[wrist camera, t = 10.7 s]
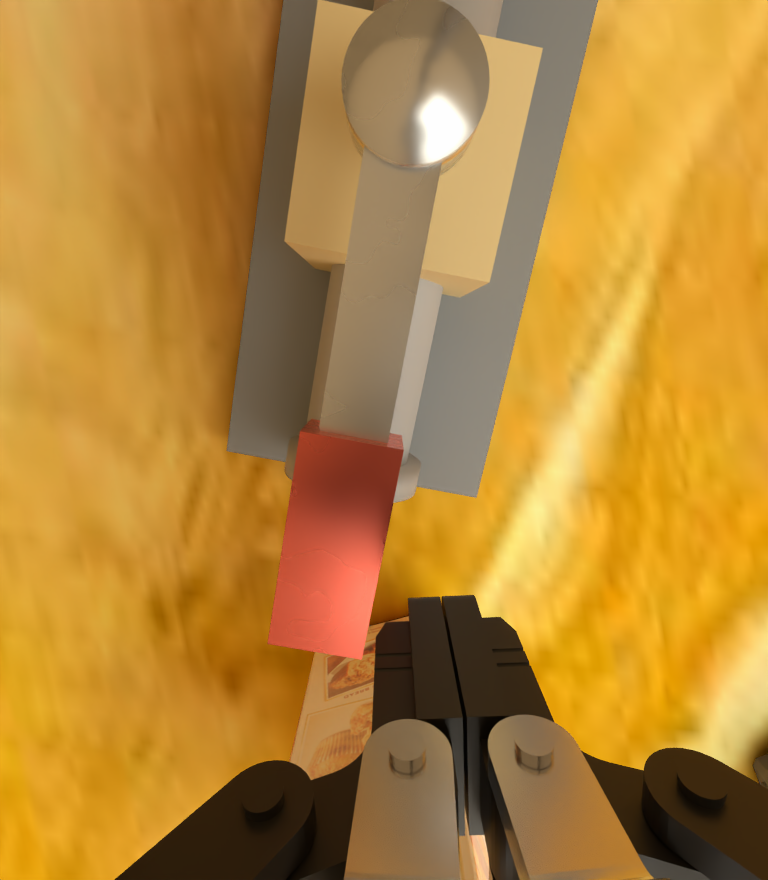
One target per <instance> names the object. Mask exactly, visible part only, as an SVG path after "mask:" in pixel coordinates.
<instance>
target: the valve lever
mask: <svg viewBox="0 0 768 880" xmlns="http://www.w3.org/2000/svg"><path fill="white" fill-rule="evenodd" d="M341 82H342V95H343V102H344V107H345V112H346V117H347V122H348V128H349V131H350V135H351V138H352V140H353V143H354V145H355V147H356V149H357V151H358V153H359V154H360V155H361V157H362V163H361V169H360V175H359V182H358V188H357V194H356V200H355V207H354V213H353V219H352V225H351V232H350V238H349V244H348V250H347V256H346V263H345V269H344V275H343V281H342V288H341V294H340V300H339V306H338V313H337V319H336V325H335V331H334V338H333V344H332V350H331V356H330V362H329V369H328V375H327V381H326V387H325V394H324V400H323V406H322V412H321V419H320V420H316V419H311V420H310V421H309V422H308V423H307V424H306V425H305V426H304V427H303V428H302V429H301V430H300V434H299V441H298V447H297V454H296V460H295V467H294V473H293V480H292V487H291V493H290V500H289V506H288V513H287V520H286V526H285V533H284V539H283V546H282V552H281V559H280V566H279V572H278V579H277V585H276V592H275V598H274V605H273V612H272V618H271V625H270V631H269V638H268V644H271V645H277V646H283V647H289V648H295V649H301V650H307V651H313V652H318V653H324V654H330V655H336V656H342V657H348V658H354V659H360V660H362V656H363V651H364V646H365V641H366V636H367V631H368V626H369V621H370V616H371V611H372V606H373V601H374V596H375V591H376V586H377V581H378V576H379V571H380V566H381V561H382V556H383V551H384V546H385V541H386V536H387V531H388V526H389V521H390V516H391V511H392V506H393V501H394V497H395V492H396V487H397V482H398V477H399V472H400V467H401V462H402V457H403V452H404V448H403V440H402V435H397V434H392V433H390V430H391V425H392V420H393V414H394V409H395V404H396V399H397V394H398V388H399V383H400V378H401V373H402V368H403V362H404V357H405V352H406V347H407V342H408V336H409V331H410V326H411V321H412V316H413V311H414V305H415V300H416V295H417V290H418V285H419V279H420V274H421V269H422V264H423V259H424V253H425V248H426V243H427V238H428V233H429V228H430V222H431V217H432V212H433V207H434V202H435V196H436V191H437V186H438V181H439V176H441V175H442V174H444V173H446V172H447V171H449V170H450V169H451V168H452V167H453V166H454V165H455V164H456V163H457V162H458V161H459V160H460V159H461V158H462V156H463V155H464V153H465V152H466V150H467V149H468V147H469V145H470V143H471V141H472V138H473V136H474V134H475V131H476V129H477V127H478V124H479V122H480V120H481V117H482V115H483V112H484V110H485V106H486V103H487V99H488V93H489V82H490V74H489V64H488V59H487V54H486V51H485V48H484V45H483V43H482V41H481V39H480V37H479V35H478V33H477V31H476V30H475V28H474V27H473V25H472V24H471V23H470V22H469V21H468V19H467V18H466V17H465V16H464V15H462V14H461V13H460V12H459V11H458V10H456V9H455V8H453V7H452V6H450V5H449V4H447V3H444V2H442V1H440V0H394V1H391V2H389V3H387V4H385V5H383V6H381V7H380V8H378V9H377V10H376V11H374V12H373V13H372V14H371V15H370V16H369V17H367V18H366V19H365V20H364V22H363V23H362V24H361V25H360V27H359V28H358V29H357V31H356V33H355V34H354V36H353V37H352V40H351V42H350V44H349V46H348V49H347V52H346V54H345V58H344V63H343V67H342V78H341Z"/></svg>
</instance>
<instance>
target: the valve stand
mask: <svg viewBox="0 0 768 880" xmlns="http://www.w3.org/2000/svg"><path fill="white" fill-rule="evenodd" d="M391 1H394V0H283V7H282V15H281V23H280V31H279V39H278V47H277V55H276V63H275V71H274V79H273V87H272V95H271V103H270V111H269V119H268V126H267V134H266V142H265V150H264V158H263V166H262V174H261V182H260V190H259V198H258V206H257V214H256V222H255V230H254V238H253V246H252V254H251V261H250V269H249V277H248V285H247V293H246V301H245V309H244V317H243V325H242V333H241V341H240V349H239V357H238V365H237V373H236V381H235V389H234V396H233V404H232V412H231V420H230V428H229V436H228V444H227V451H229V452H235V453H240V454H246V455H251V456H256V457H262V458H267V459H272V460H278V461H283V462H286V463H285V473H286V475H287V476H288V477H289V478H290V479H291V480H293V473H294V467H295V460H296V454H297V447H298V441H299V434H300V430H301V429H302V428H303V427H304V426H305V425H306V424H307V423H308V422H309V421H310V420H311V419H316V420H320V419H321V412H322V406H323V400H324V394H325V387H326V381H327V375H328V369H329V362H330V356H331V350H332V344H333V338H334V331H335V325H336V319H337V313H338V306H339V300H340V294H341V288H342V281H343V275H344V269H345V263H346V256H347V250H348V244H349V238H350V232H351V225H352V219H353V213H354V207H355V200H356V194H357V188H358V182H359V175H360V169H361V163H362V157H361V155H360V154H359V153H358V151H357V149H356V147H355V145H354V143H353V140H352V138H351V135H350V131H349V128H348V122H347V117H346V112H345V107H344V102H343V95H342V82H341V78H342V67H343V63H344V58H345V54H346V52H347V49H348V46H349V44H350V42H351V40H352V37H353V36H354V34H355V33H356V31H357V29H358V28H359V27H360V25H361V24H362V23H363V22H364V20H365V19H366V18H367V17H369V16H370V15H371V14H372V13H373V12H374V11H376V10H377V9H378V8H380V7H381V6H383V5H385V4H387V3H389V2H391ZM440 1H442V2H444V3H447V4H449V5H450V6H452V7H453V8H455V9H456V10H458V11H459V12H460V13H461V14H462V15H464V16H465V17H466V18H467V19H468V21H469V22H470V23H471V24H472V25H473V27H474V28H475V30H476V31H477V33H478V35H479V37H480V39H481V41H482V43H483V45H484V48H485V51H486V54H487V59H488V64H489V74H490V82H489V93H488V99H487V103H486V106H485V110H484V112H483V115H482V117H481V120H480V122H479V124H478V127H477V129H476V131H475V134H474V136H473V138H472V141H471V143H470V145H469V147H468V149H467V150H466V152H465V153H464V155H463V156H462V158H461V159H460V160H459V161H458V162H457V163H456V164H455V165H454V166H453V167H452V168H451V169H450V170H449V171H447V172H446V173H444V174H442V175H441V176H439V181H438V186H437V191H436V196H435V202H434V207H433V212H432V217H431V222H430V228H429V233H428V238H427V243H426V248H425V253H424V259H423V264H422V269H421V274H420V279H419V285H418V290H417V295H416V300H415V305H414V311H413V316H412V321H411V326H410V331H409V336H408V342H407V347H406V352H405V357H404V362H403V368H402V373H401V378H400V383H399V388H398V394H397V399H396V404H395V409H394V414H393V420H392V425H391V430H390V433H392V434H397V435H402V440H403V448H404V452H403V457H402V462H401V467H400V472H399V477H398V482H397V487H396V492H395V497H394V501H393V503H394V502H400V501H404V500H407V499H409V498H411V497H412V496H413V495H414V494H415V491H416V486H417V487H422V488H428V489H433V490H438V491H444V492H449V493H454V494H460V495H465V496H470V497H477V493H478V489H479V485H480V481H481V477H482V473H483V469H484V465H485V461H486V456H487V452H488V448H489V444H490V440H491V436H492V432H493V428H494V424H495V420H496V416H497V411H498V407H499V403H500V399H501V395H502V391H503V387H504V383H505V379H506V375H507V371H508V366H509V362H510V358H511V354H512V350H513V346H514V342H515V338H516V334H517V330H518V326H519V321H520V317H521V313H522V309H523V305H524V301H525V297H526V293H527V289H528V285H529V281H530V276H531V272H532V268H533V264H534V260H535V256H536V252H537V248H538V244H539V240H540V236H541V231H542V227H543V223H544V219H545V215H546V211H547V207H548V203H549V199H550V195H551V191H552V186H553V182H554V178H555V174H556V170H557V166H558V162H559V158H560V154H561V150H562V146H563V142H564V137H565V133H566V129H567V125H568V121H569V117H570V113H571V109H572V105H573V101H574V97H575V92H576V88H577V84H578V80H579V76H580V72H581V68H582V64H583V60H584V56H585V52H586V47H587V43H588V39H589V35H590V31H591V27H592V23H593V19H594V15H595V11H596V7H597V2H598V0H440Z"/></svg>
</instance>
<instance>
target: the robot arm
mask: <svg viewBox="0 0 768 880" xmlns="http://www.w3.org/2000/svg"><path fill="white" fill-rule="evenodd" d="M408 610H409V621H399V622H386V623H385V624H384V625H383V627H382V628H381V630H380V631H379V633H378V634H377V636H376V643H375V666H374V689H373V712H372V731H371V736H370V737H369V739H368V740H367V742H366V744H365V746H364V750H363V752H362V753H361V754H360V755H359V756H358V757H357V758H356V759H355V760H354V761H353V762H352V763H350V764H349V765H347V766H346V767H344V768H342V769H340V770H338V771H336V772H333V773H330V774H328V775H325V776H322V777H319V778H316V779H313V780H310V777H309V776H308V774H307V773H306V772H305V771H304V770H303V769H302V768H301V767H299V766H298V765H296V764H293V763H291V762H287V761H279V760H274V761H266V762H263V763H259V764H256V765H254V766H252V767H249V768H248V769H246V770H244V771H243V772H241V773H240V774H238V775H237V776H236V777H235V778H233V779H232V780H231V781H230V782H229V783H228V784H226V785H225V786H224V787H223V788H222V789H220V790H219V791H218V792H217V793H216V794H215V795H213V796H212V797H211V798H210V799H209V800H208V801H206V802H205V803H204V804H203V805H202V806H201V807H199V808H198V809H197V810H196V811H195V812H193V813H192V814H191V815H190V816H189V817H188V818H186V819H185V820H184V821H183V822H182V823H181V824H179V825H178V826H177V827H176V828H175V829H174V830H172V831H171V832H170V833H169V834H168V835H166V836H165V837H164V838H163V839H162V840H161V841H159V842H158V843H157V844H156V845H155V846H154V847H152V848H151V849H150V850H149V851H148V852H147V853H145V854H144V855H143V856H142V857H141V858H139V859H138V860H137V861H136V862H135V863H134V864H132V865H131V866H130V867H129V868H128V869H127V870H125V871H124V872H123V873H122V874H121V875H120V876H118V877H117V878H116V879H115V880H460V852H459V836H465V812H466V818H467V824H468V831H469V835H484V836H485V842H486V847H487V852H488V858H489V880H768V789H767V788H765V787H764V786H762V785H760V784H758V783H757V782H755V781H753V780H751V779H750V778H748V777H746V776H744V775H743V774H741V773H739V772H737V771H736V770H734V769H732V768H730V767H729V766H727V765H725V764H724V763H722V762H720V761H718V760H716V759H714V758H712V757H710V756H708V755H705V754H703V753H700V752H697V751H693V750H689V749H684V748H666V749H662V750H659V751H657V752H655V753H653V754H652V755H651V756H650V757H649V758H648V759H647V761H646V763H645V766H644V771H643V770H639V769H634V768H630V767H626V766H622V765H618V764H614V763H609V762H606V761H603V760H600V759H597V758H595V757H592V756H590V755H588V754H586V753H584V752H583V751H581V750H580V748H579V746H578V744H577V743H576V741H575V740H574V738H573V737H572V736H571V735H570V734H569V733H568V732H567V731H566V730H565V729H563V728H562V727H561V726H559V725H558V724H556V723H554V720H553V718H552V716H551V713H550V711H549V709H548V706H547V704H546V701H545V699H544V697H543V694H542V692H541V689H540V687H539V685H538V682H537V680H536V678H535V675H534V673H533V670H532V668H531V666H529V661H528V659H527V656H526V654H525V651H523V647H522V644H521V642H520V640H519V637H518V635H517V632H516V631H515V630H514V629H513V628H512V627H511V626H510V625H509V624H507V623H506V622H505V621H504V620H503V619H502V618H501V617H491V618H482V617H481V614H480V611H479V608H478V604H477V601H476V598H475V596H474V595H464V596H442V606H441V600H440V597H420V598H408Z"/></svg>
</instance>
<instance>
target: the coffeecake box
mask: <svg viewBox="0 0 768 880" xmlns="http://www.w3.org/2000/svg"><path fill="white" fill-rule="evenodd" d="M399 621H409V616H407V617H403V618H400V619H396V620H392V621H388V622H399ZM385 623H386V622H384V623H380V624H376V625H372V626H368V631H367V636H366V641H365V646H364V651H363V656H362V660H360V659H354V658H348V657H342V656H336V655H330V654H324V653H318V652H315V653H314V657H313V662H312V667H311V671H310V675H309V679H308V684H307V689H306V693H305V697H304V701H303V705H302V709H301V713H300V718H299V722H298V726H297V731H296V735H295V739H294V743H293V748H292V752H291V756H290V760H289V762H291V763H293V764H296V765H298V766H299V767H301V768H302V769H303V770H304V771H305V772H306V773H307V774H308V776H309V777H310V780H313V779H316V778H319V777H322V776H325V775H328V774H330V773H333V772H336V771H338V770H340V769H342V768H344V767H346V766H347V765H349V764H350V763H352V762H353V761H354V760H355V759H356V758H357V757H358V756H359V755H360V754H361V753H362V752H363V750H364V746H365V744H366V742H367V740H368V739H369V737H370V736H371V731H372V712H373V689H374V666H375V643H376V636H377V634H378V633H379V631H380V630H381V628H382V627H383V625H384V624H385ZM459 852H460V880H489V858H488V852H487V847H486V842H485V836H484V835H469V831H468V824H467V818H466V812H465V836H459Z"/></svg>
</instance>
